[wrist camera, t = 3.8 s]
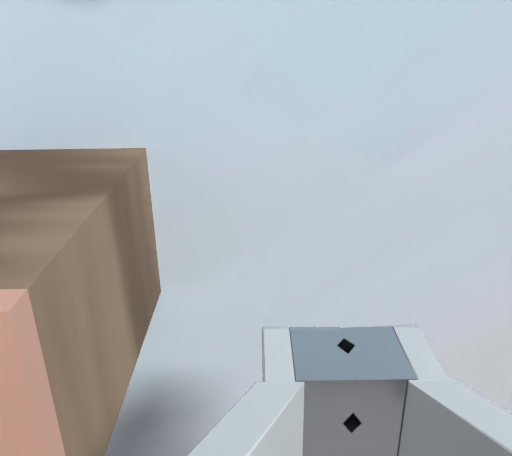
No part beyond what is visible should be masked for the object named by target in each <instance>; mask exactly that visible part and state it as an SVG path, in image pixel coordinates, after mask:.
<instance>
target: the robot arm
mask: <svg viewBox="0 0 512 456" xmlns="http://www.w3.org/2000/svg"><path fill="white" fill-rule="evenodd" d="M262 374H263V382H256V383H255V384H254V385H253V386H252V387H251V388H250V389H249V390H248V391H247V392H246V393H245V394H244V396H243V397H242V398H241V399H240V400H239V401H238V402H237V403H236V404H235V405H234V406H233V407H232V408H231V409H230V411H229V412H228V413H227V414H226V415H225V416H224V417H223V418H222V419H221V420H220V421H219V422H218V423H217V425H216V426H215V427H214V428H213V429H212V430H211V431H210V432H209V433H208V434H207V435H206V436H205V437H204V439H203V440H202V441H201V442H200V443H199V444H198V445H197V446H196V447H195V448H194V449H193V450H192V451H191V453H190V454H189V455H188V456H512V413H510V412H508V411H507V410H505V409H504V408H502V407H500V406H499V405H497V404H495V403H494V402H492V401H491V400H489V399H487V398H486V397H484V396H482V395H481V394H479V393H478V392H476V391H474V390H473V389H471V388H469V387H468V386H466V385H465V384H463V383H461V382H460V381H458V380H449V379H448V378H447V376H446V374H445V372H444V370H443V369H442V367H441V365H440V363H439V361H438V359H437V358H436V356H435V354H434V352H433V350H432V349H431V347H430V345H429V343H428V341H427V339H426V338H425V336H424V334H423V332H422V330H421V329H420V327H419V326H417V325H396V326H383V327H350V328H340V327H289V328H288V327H263V329H262Z"/></svg>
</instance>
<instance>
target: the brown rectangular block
mask: <svg viewBox="0 0 512 456" xmlns="http://www.w3.org/2000/svg"><path fill="white" fill-rule="evenodd" d="M160 292H161V289H160V279H159V270H158V260H157V251H156V241H155V232H154V222H153V213H152V203H151V194H150V184H149V175H148V165H147V156H146V148H119V149H53V150H0V456H104V454H105V452H106V449H107V446H108V443H109V440H110V437H111V434H112V431H113V428H114V425H115V423H116V420H117V417H118V414H119V411H120V408H121V405H122V402H123V399H124V396H125V394H126V391H127V388H128V385H129V382H130V379H131V376H132V373H133V370H134V367H135V365H136V362H137V359H138V356H139V353H140V350H141V347H142V344H143V341H144V338H145V336H146V333H147V330H148V327H149V324H150V321H151V318H152V315H153V312H154V309H155V307H156V304H157V301H158V298H159V295H160Z"/></svg>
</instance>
